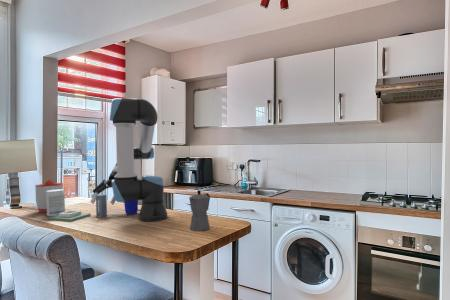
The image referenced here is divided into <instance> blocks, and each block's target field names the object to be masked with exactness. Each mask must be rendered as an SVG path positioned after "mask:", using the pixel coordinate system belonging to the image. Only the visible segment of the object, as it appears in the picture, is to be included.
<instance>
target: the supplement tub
mask: <svg viewBox="0 0 450 300" xmlns="http://www.w3.org/2000/svg"><path fill="white" fill-rule="evenodd" d="M65 200H66V199H65V189H64V188H63V189H58V190H49V191H46V207H47V212H46V216H48V217H53V216H57V215H59V213H62V212H66V204H65V203H66V202H65Z"/></svg>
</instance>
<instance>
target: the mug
mask: <svg viewBox="0 0 450 300" xmlns="http://www.w3.org/2000/svg"><path fill="white" fill-rule="evenodd" d="M123 203H124V212H125V214H126V215H135V214H137V213H138V212H140V210H141V208H140V209H139V200H134V201H125V202H124V201H123Z"/></svg>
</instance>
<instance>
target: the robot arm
mask: <svg viewBox="0 0 450 300" xmlns="http://www.w3.org/2000/svg"><path fill="white" fill-rule="evenodd" d="M109 121H111V122H112V125H113V126H114V127H115V139H116V141H115V142H116V144H115V145H116V147H115V148H116V163H115V166H114V167H113V169H112V171H111V172H110V174H109V176H108V179H107V180H106V179H103V180H102V181H101V182H100V183H99V184H98V185H97V186H95V188H93V190H92V193H93V194H92V196H91V197H92V198H91V199H90V200H89V202H90V203H91V204H92V205H94V204H96V195H100V193H102V192H104V191H105V190H106V189H111V188H112V192H113V196H112V198H111V200H110V202H109V203H110V205H112V206H114V205H115V203H116V202H117V203H118V202H123V203H124V202H125V201H134V200H138V201H141V207H140V209H141V210H140V209H139V210H140V211H139V214H138V219H139V221H143V222H156V221H162V220H165V219H167V218H168V211H167V208H166V205H165V199H164V198H165V195H164V193H165V190H164V189H165V188H164V186H165V185H164V179H163V177H162V176H158V175H148V174H147V175H146V174H145V175H144V174H143V175H141V177H139V178H138V174H136V172H135V160H152V159H154V157H155V149H154V147H152V146H153V140H154V133H155V125H156V124H157V123H158V112H157V109H156V107H155V106H154V105H153V103H151V102H150V101H148V100H147V99H143V98H127V97H118V98H113V99H112V100H111V104H110V115H109ZM137 122H139V123H141V124H140V133H139V143H138V147H134V127H135V126H136V125H137Z"/></svg>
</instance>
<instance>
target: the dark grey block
mask: <svg viewBox="0 0 450 300" xmlns="http://www.w3.org/2000/svg"><path fill="white" fill-rule="evenodd" d="M107 199H108V198H107V194H98V195H96V201H95V211H96V212H95V213H96V215H95V216H100V217H99V218H103V216H104V217H107V216H108V204H107ZM106 215H107V216H106Z"/></svg>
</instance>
